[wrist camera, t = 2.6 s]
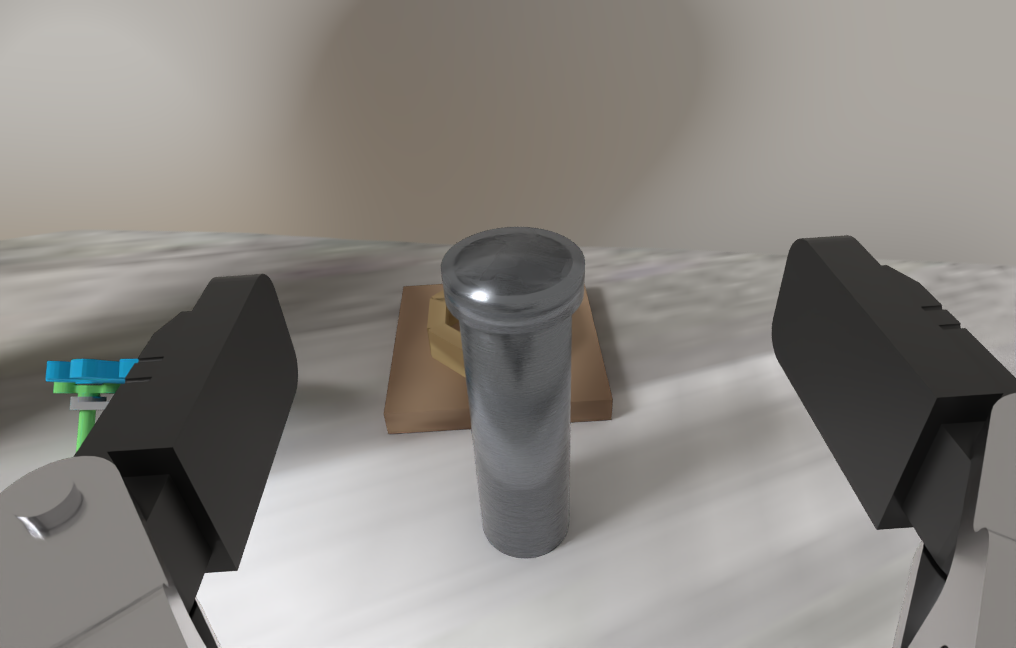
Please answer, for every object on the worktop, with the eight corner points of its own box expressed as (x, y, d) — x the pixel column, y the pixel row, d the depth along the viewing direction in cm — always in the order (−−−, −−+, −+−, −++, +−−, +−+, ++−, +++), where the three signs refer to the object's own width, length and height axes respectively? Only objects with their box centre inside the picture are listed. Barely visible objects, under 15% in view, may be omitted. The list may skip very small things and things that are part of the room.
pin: (473, 569, 28) (437, 307, 20) (473, 482, 32) (443, 231, 24) (584, 562, 28) (594, 297, 20) (571, 475, 32) (575, 223, 24)
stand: (388, 433, 35) (377, 385, 33) (406, 304, 45) (399, 261, 42) (611, 419, 35) (614, 370, 33) (581, 293, 45) (583, 249, 42)
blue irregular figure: (299, 360, 38) (169, 341, 28) (294, 465, 37) (159, 481, 27) (141, 365, 41) (-26, 349, 31) (133, 462, 40) (-41, 476, 30)
